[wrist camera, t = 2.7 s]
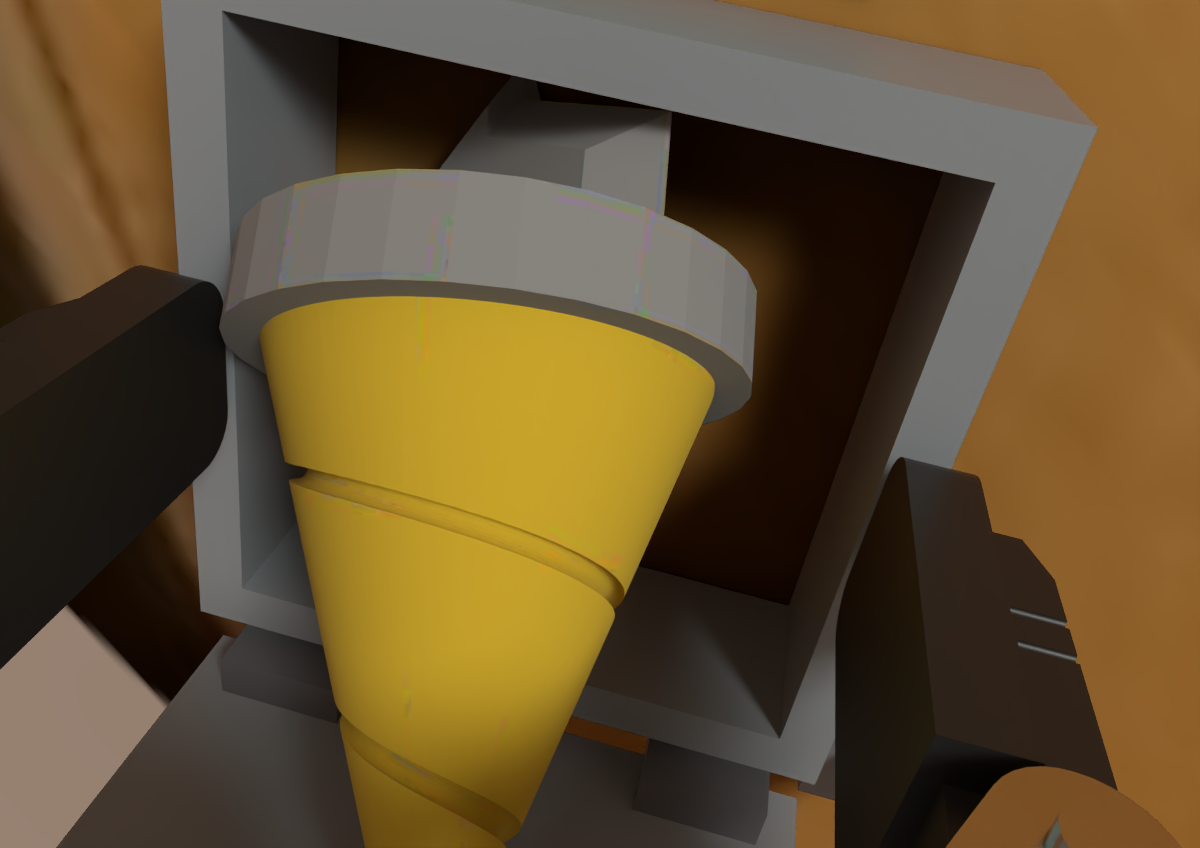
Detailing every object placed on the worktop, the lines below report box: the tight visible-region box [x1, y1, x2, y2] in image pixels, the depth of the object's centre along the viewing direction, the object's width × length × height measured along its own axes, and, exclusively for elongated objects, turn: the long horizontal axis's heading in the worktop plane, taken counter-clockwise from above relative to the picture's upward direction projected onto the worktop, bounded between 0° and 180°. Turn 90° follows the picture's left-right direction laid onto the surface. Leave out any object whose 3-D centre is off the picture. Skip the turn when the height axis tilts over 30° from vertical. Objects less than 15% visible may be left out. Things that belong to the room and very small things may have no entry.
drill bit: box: [219, 75, 757, 848], centre depth 10 cm, size 5×5×10 cm
